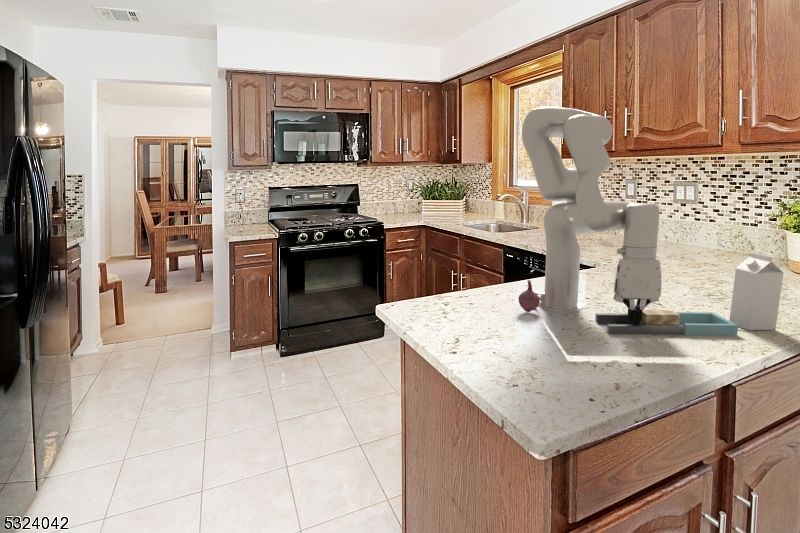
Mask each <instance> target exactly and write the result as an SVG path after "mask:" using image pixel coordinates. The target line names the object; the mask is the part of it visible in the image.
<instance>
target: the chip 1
mask: <svg viewBox="0 0 800 533" xmlns="http://www.w3.org/2000/svg"><path fill="white" fill-rule="evenodd" d="M657 310H658V309H657ZM657 310H656V309H655V310H653V309H652V310H651V309H649V310H647V309H644V310H643V311H642V321H640V325H663V314H661V313H660V312H658V311H657Z"/></svg>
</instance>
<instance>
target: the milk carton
mask: <svg viewBox="0 0 800 533" xmlns="http://www.w3.org/2000/svg"><path fill="white" fill-rule="evenodd" d="M783 277H784V272H783V271H782V270H781V269H780V267H778V266H777V265H776V264H775V263H774V262H773V257H772V256H768V255H763V254H759V253H754V252H749V257H748V258H746V259H745V260H744V261H742V262H741V263H740V264H739V265H738V266H736V267H735V271H734V279H733V288H732V297H731V304H730V305H731V306H730V312H729V319H728V320H729V321H731V322H733V323H735V324H736V325H738V328H739V327H740V328H741V329H744V330H747V331H774V330H776V329H777V322H778V321H777V320H778V315H779V308H780V300H781V294H782V286H783Z"/></svg>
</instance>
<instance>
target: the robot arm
mask: <svg viewBox="0 0 800 533" xmlns="http://www.w3.org/2000/svg"><path fill="white" fill-rule="evenodd" d="M612 135H613V125H612V123H611V122H610V120H609V119H608V118H607V117H605V116H603V115H599V114H595V113H592V112H588V111H585V110H581V109H577V108H571V107H559V106H558V107H557V106H540V107H536V108H534V109H531V110H530V111H529V112H528V113H527V114H526V116H525V118H524V120H523V123H522V127H521V141H522V142H523V146H524V149H525V152H526V153H527V155H528V158H529V162H530V164H531V168H532V171H533V173H534V178H535V180H536V184H537V187H538V190H539V193H540V195H541V197H542V198H543V199H544V200H545V201H548V202H561V203H557V204H554V205H552V206H550V207H549V208H548V209H547V210H546V212H545V214H544V216H543V227H544V228H543V229H544V232H545V274H544V275H545V277H544V291H543V292H540V291H534V292H535V293H536V294H537V295H538V296H539V299H540V303H539V305H538V307H539V308H542V309H544V310H547V311H552V312H559V313H560V312H561V313H575V312H580V311H581V310H583V309H584V306H583V305H582V304H581V303H579V301H578V298H579V284H580V283H579V282H580V281H579V280H580V264H581V262H580V261H581V260H580V259H581V248H580V244H579V241H578V239H577V235H586V234H591V233H593V232H598V233H599V232H600V233H602V232H611V231H613V232H614V231H622V230H624V231H623V245H621V248H617V249H616V254H617V255H621V257H620V258H619V260H618V262H617V267H616V271H615V276H614V285H613V287H614V288H613V292H614V294H613V298H612V299H613V300H614V301H615V302H618V303H621V304H624V305H625V306H626V307H627V314H628V316H627V319H628V321H629V322H630V323H631V324H636V325H640V321H642V311H643V310H646V307H647V306H648V305H650V304H652V303H657V302H659V301H660V297H661V295H662V284H663V283H662V268H661V267H662V266H661V260H660V259H659V258H657V251H658V250H657V247H658V239H659V238H658V237H659V235H658V234H659V226H660V225H659V224H660V212H661V211H660V207H659V205H657V204H656V203H651V202H648V203H647V202H637V203H635V202H631V201H626V200H619V201H618V200H617V201H616V200H615V201H612V200H611V201H605V200H604V198H603V196H602V193H601V190H600V186H599V177H600V175H601V174H602V173H604V172H605V171H606V170H608V168H609V167H610V166H611V161H612V160H611V158H610V156H609V154H608V151H607V150H606V147H605V146H606V144H608V143H609V142H610V141H611V138H612ZM550 138H563V140H564V142H565V144H566V146H567V149H568V151H569V154H570V156H571V159H572V161H573V163H574V166H575V168H573V167H572V168H567V167H565V165H564V162H563V159H562V156H561V153H560V151H559V149H558V148H557V146H556V145H555V144H554V143H553V141H551V139H550ZM563 201H565V202H563ZM562 202H563V203H562ZM635 300H636V301H635ZM635 302H636V303H635Z"/></svg>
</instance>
